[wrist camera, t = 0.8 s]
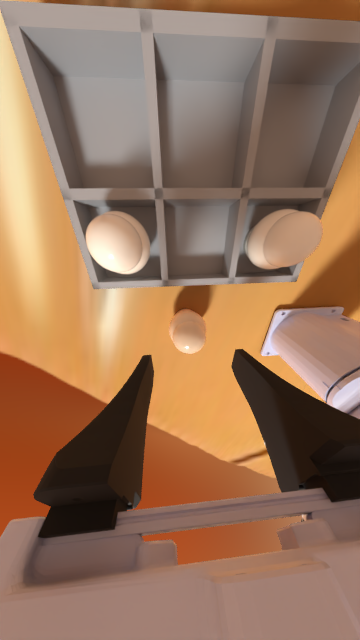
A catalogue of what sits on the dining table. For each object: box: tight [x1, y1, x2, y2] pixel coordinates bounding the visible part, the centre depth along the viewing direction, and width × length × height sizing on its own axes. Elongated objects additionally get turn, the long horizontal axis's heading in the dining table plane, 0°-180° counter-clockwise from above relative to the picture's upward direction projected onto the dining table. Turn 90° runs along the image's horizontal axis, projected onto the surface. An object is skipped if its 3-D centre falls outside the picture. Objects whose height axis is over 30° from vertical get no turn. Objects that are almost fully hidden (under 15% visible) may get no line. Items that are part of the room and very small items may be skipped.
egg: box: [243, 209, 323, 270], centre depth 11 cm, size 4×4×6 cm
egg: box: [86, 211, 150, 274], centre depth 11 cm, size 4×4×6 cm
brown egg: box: [169, 309, 206, 354], centre depth 16 cm, size 4×4×6 cm
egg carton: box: [0, 0, 360, 289], centre depth 11 cm, size 20×13×3 cm
